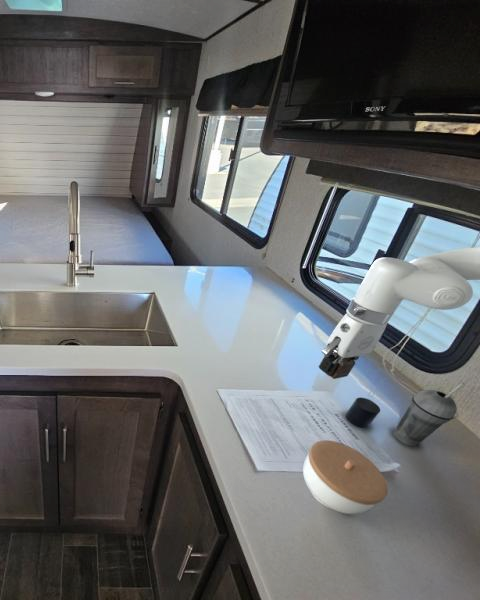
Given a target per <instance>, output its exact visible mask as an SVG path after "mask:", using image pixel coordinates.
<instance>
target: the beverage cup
mask: <svg viewBox="0 0 480 600" xmlns="http://www.w3.org/2000/svg"><path fill="white" fill-rule="evenodd" d="M465 385H466V383H464V382H461V383H459V384H458V385H457V386H456V387H455V388H454V389H452V390H451V391H449V393H445V392H444V391H441V390H436V389H425V390H421V391H418V392H417V393H416V394H415V395H413V396H412V397H411V400H410V403H409V406H408V408H407V410H406V411H405V412H404V414H403V416H402V417H401V418H400V421H399V422H398V424H397V425H396V427H395V429H394V430H393V435H394V437H395V438H396V439H397V440H398V441H399V442H400V443H402V444H404V445H407V446H410V447H415V446H417V445H419V444H420V443H422V442H423V441H424V440H425V439H427V438H428V437H429V436H431V435H432V434H433V433H434V432H435V431H437V430H438V429H439V428H440V427H441V426H443V425H444V424H447V423H449V422H450V421H451V420H453V419H455V416H456V414H457V411H458V406H457V404H456V401H455V400H454V399H453V397H451V396H453V395H454V394H455V393H457V391H459V390H460V389H461V388H463V386H465Z"/></svg>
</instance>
